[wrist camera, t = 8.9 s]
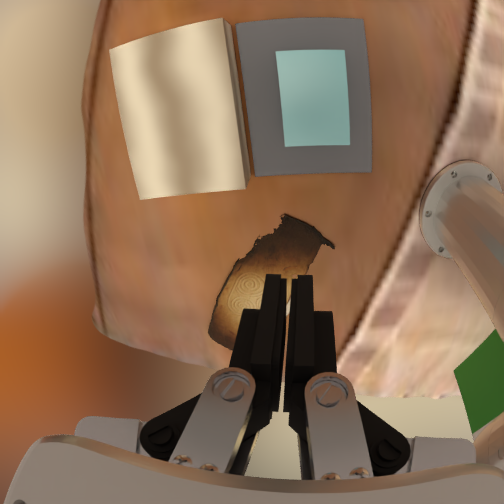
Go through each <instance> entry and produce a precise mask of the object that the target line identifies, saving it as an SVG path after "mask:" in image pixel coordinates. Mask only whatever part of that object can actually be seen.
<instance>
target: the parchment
mask: <svg viewBox="0 0 504 504" xmlns="http://www.w3.org/2000/svg"><path fill="white" fill-rule="evenodd" d="M284 215H285V214H284ZM280 217H281V216H280ZM281 220H282V222H281V223H283V224H280V225H278V226H279V227H278V228H277V230H276V229H274V233H273V234H267V235H266V236H263V238H262V237H261V239H258V238H257V239H256V241H255V243H254V247H253V248H252V251H250V252H249V253H248V254H246V255H247V256H245V258H242V259H240V258H239V259H240V260H239V259H238V261H237V262H236V263H235V265H234V268H233V270H232V272H231V274H230V275H229V276H228V278H227V280H226V282H225V284H224V286H223V288H222V290H221V292H220V294H219V296H218V297H217V300H216V305H215V308H214V310H213V314H212V320H211V323H210V325H209V329H208V333H209V334H210V337H211V338H212V339H213V340H214V341H215V342H217V343H219V344H221V345H223V346H224V347H226V348H228V349H230V350H233V348H234V344H235V340H236V335H237V331H238V327H239V323H240V319H241V315H242V311H243V309H244V308H248V309H260V306H261V300H262V294H263V289H264V283H265V277H266V274H281V278H287V306H286V316H287V315H288V314H289V312H290V298H291V281H292V279H294V278H293V277H292V275H294V274H297V275H305V274H306V273H307V271H308V269H309V265H310V264H311V263H313V260H314V258H315V257H316V255H317V252H318V250H319V249H320V246H321V244H324V245H325V244H326V245H327V246H330V247H331V248H332V249H335V248H334V247H335V246H333V245H332V244H331V243H330V242H329V241H327V240H326V239H324V238H323V237H322V235H321V234H320V233H319V232H317V230H316V229H315V228H314V226H313V227H310V226H309V225H307V224H305V223H303V222H301V221H298V220H296V219H293V218H291V217H288V216H286V215H285V216H284V217H283V218H282V217H281ZM259 236H260V235H259ZM256 242H257V243H256ZM255 244H257V245H255ZM295 279H298V276H297V277H296V278H295Z"/></svg>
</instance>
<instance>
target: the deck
mask: <svg viewBox="0 0 504 504" xmlns="http://www.w3.org/2000/svg"><path fill="white" fill-rule="evenodd" d="M109 51H110V59H111V65H112V72H113V78H114V84H115V90H116V96H117V101H118V107H119V112H120V117H121V122H122V127H123V131H124V136H125V140H126V145H127V149H128V154H129V158H130V162H131V166H132V170H133V174H134V178H135V182H136V186H137V190H138V193H139V197H140V200H142V199H150V198H158V197H167V196H176V195H185V194H194V193H205V192H215V191H227V190H239V189H246V187H247V185H248V182H249V180H250V177H251V171H250V163H249V156H248V148H247V140H246V132H245V125H244V117H243V110H242V102H241V95H240V87H239V80H238V72H237V65H236V58H235V50H234V43H233V36H232V29H231V25H230V24H229V23H228V22H227V21H225V20H224V19H223V18H218V19H213V20H208V21H203V22H198V23H194V24H190V25H185V26H181V27H177V28H174V29H170V30H166V31H163V32H159V33H156V34H153V35H150V36H146V37H143V38H140V39H137V40H134V41H132V42H129V43H126V44H123V45H121V46H118V47H115V48H113V49H110V50H109Z"/></svg>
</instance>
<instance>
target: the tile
mask: <svg viewBox="0 0 504 504" xmlns="http://www.w3.org/2000/svg"><path fill="white" fill-rule="evenodd" d="M276 60H277V68H278V78H279V87H280V97H281V107H282V118H283V129H284V140H285V147H289V146H316V145H350V124H349V101H348V85H347V72H346V60H345V50H290V51H276Z"/></svg>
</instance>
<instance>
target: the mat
mask: <svg viewBox="0 0 504 504" xmlns="http://www.w3.org/2000/svg"><path fill="white" fill-rule="evenodd" d="M235 25H236V32H237V39H238V46H239V54H240V61H241V68H242V76H243V83H244V91H245V99H246V106H247V114H248V122H249V130H250V138H251V146H252V154H253V162H254V170H255V177H258V176H273V175H291V174H313V173H352V172H372V115H371V93H370V78H369V65H368V55H367V45H366V37H365V29H364V22H363V19H355V18H324V17H318V18H287V19H273V20H262V21H253V22H245V23H238V24H235ZM290 50H345V60H346V72H347V85H348V101H349V124H350V145H316V146H289V147H285V140H284V129H283V118H282V107H281V97H280V87H279V78H278V68H277V60H276V51H290Z"/></svg>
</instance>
